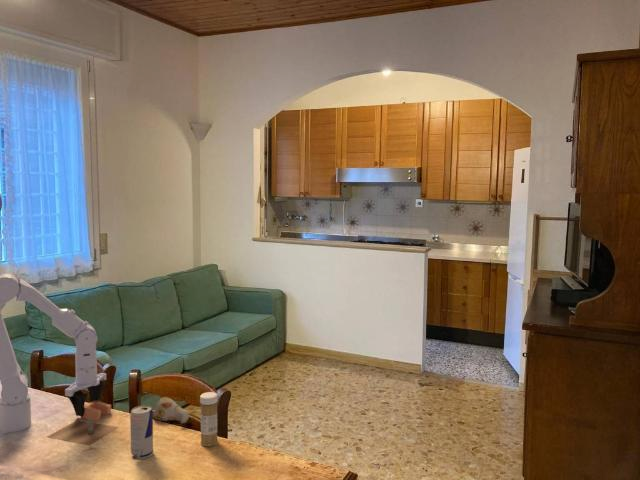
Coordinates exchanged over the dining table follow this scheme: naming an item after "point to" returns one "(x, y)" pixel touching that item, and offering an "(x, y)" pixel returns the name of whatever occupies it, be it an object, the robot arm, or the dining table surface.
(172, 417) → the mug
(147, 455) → the energy drink
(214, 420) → the sprinkles bottle
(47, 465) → the dining table surface
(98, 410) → the c link
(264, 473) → the dining table surface
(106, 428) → the stand
